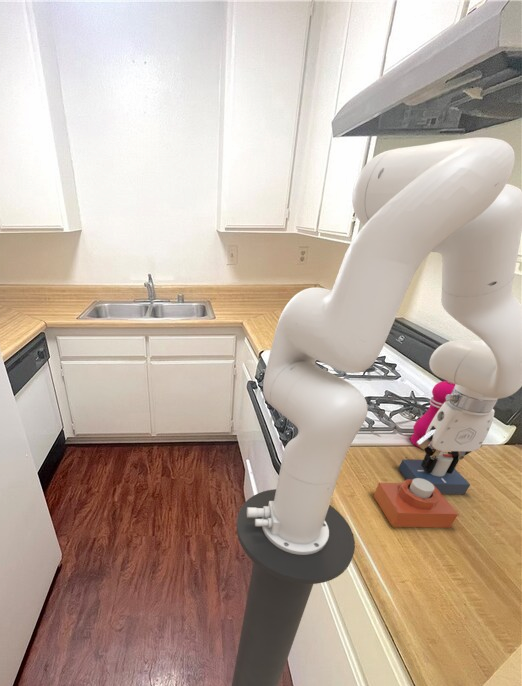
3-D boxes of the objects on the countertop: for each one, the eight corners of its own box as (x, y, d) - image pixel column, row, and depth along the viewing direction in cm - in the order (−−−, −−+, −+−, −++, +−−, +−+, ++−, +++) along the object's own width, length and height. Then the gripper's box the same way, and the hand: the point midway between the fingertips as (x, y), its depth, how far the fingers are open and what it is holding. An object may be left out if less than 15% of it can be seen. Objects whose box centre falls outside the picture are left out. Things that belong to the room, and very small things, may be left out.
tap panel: (417, 493, 79) (422, 483, 77) (398, 468, 86) (402, 458, 85) (464, 494, 79) (471, 484, 77) (441, 469, 87) (446, 459, 85)
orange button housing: (392, 526, 70) (402, 505, 67) (373, 495, 78) (381, 475, 75) (450, 527, 71) (463, 506, 67) (426, 496, 78) (436, 476, 75)
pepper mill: (431, 437, 99) (462, 372, 88) (441, 452, 93) (476, 384, 82) (404, 434, 100) (431, 369, 89) (413, 449, 94) (443, 381, 83)
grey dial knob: (431, 476, 79) (439, 460, 77) (421, 465, 83) (429, 449, 80) (448, 476, 79) (457, 460, 77) (438, 465, 83) (446, 449, 80)
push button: (415, 498, 70) (418, 491, 68) (405, 485, 73) (408, 477, 72) (434, 498, 70) (438, 491, 68) (423, 485, 73) (427, 478, 72)
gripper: (441, 408, 68) (408, 479, 78) (526, 410, 68) (482, 480, 78) (421, 391, 74) (392, 459, 84) (498, 392, 74) (461, 460, 84)
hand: (436, 468), depth 81 cm, fingers closed on grey dial knob, 4 cm apart
